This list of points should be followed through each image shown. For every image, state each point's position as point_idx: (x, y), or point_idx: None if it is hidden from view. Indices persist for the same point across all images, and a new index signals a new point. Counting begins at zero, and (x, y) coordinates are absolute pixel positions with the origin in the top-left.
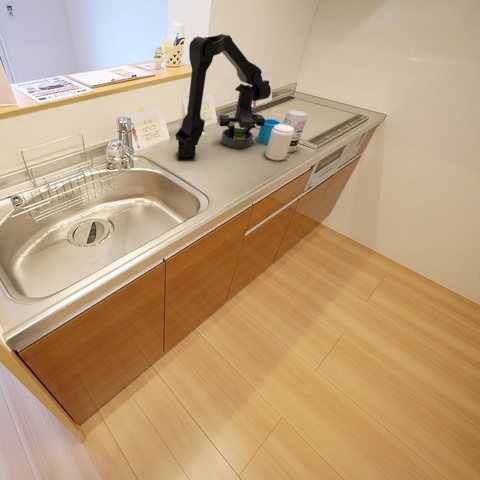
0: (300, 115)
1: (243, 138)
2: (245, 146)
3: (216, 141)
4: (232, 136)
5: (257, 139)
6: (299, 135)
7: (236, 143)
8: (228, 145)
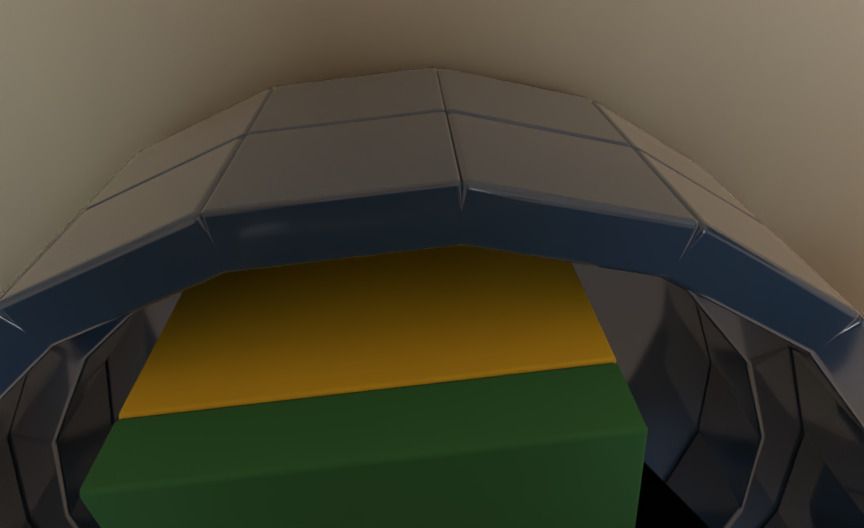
0: None
1: (220, 378)
2: (155, 149)
3: None
4: None
5: None
6: None
7: (512, 132)
8: (705, 174)
